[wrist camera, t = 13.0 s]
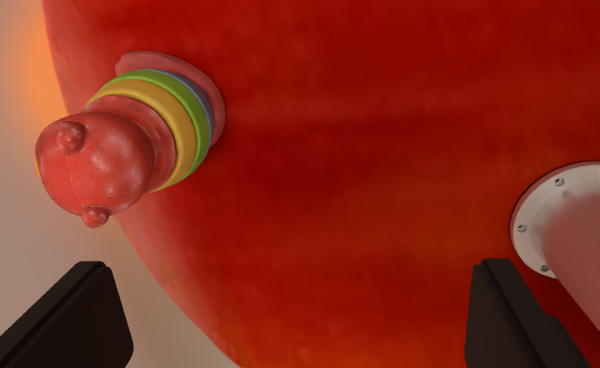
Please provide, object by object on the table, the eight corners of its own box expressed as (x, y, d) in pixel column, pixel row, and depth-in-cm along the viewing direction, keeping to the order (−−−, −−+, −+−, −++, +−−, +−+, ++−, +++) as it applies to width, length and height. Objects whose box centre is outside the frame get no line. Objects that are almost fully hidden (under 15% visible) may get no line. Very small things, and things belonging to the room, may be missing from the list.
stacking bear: (115, 49, 38) (-51, 86, 22) (224, 51, 37) (138, 91, 21) (133, 160, 42) (6, 260, 26) (231, 164, 41) (164, 269, 25)
